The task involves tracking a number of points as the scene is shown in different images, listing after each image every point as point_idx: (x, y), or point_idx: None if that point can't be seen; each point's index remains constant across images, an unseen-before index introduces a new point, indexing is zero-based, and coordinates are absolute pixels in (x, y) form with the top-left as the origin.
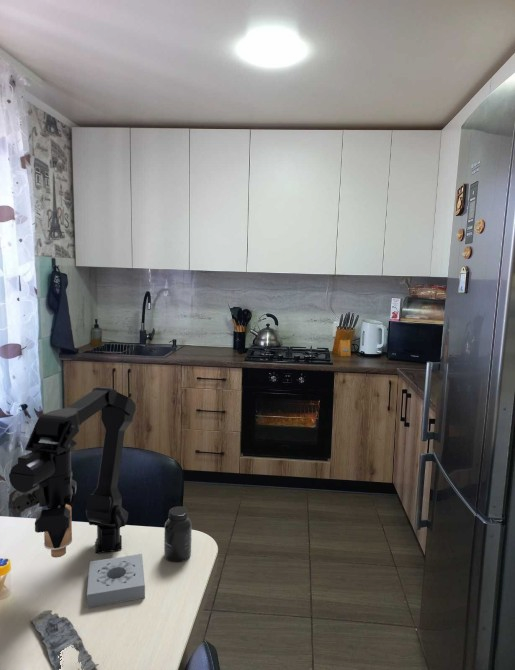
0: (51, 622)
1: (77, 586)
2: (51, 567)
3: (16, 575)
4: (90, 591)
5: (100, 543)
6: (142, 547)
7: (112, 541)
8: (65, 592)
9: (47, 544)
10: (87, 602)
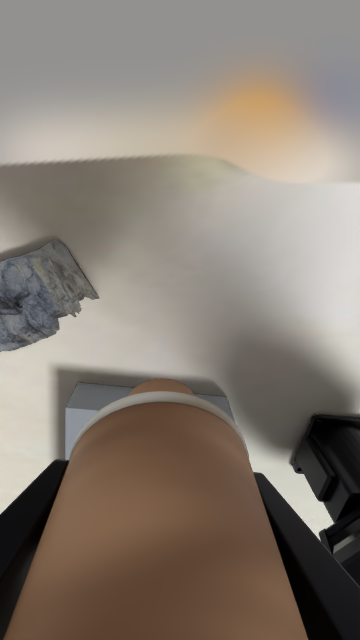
0: (29, 300)
1: (182, 364)
2: (317, 299)
3: (338, 185)
4: (79, 416)
5: (333, 442)
6: None
7: (307, 479)
8: (167, 335)
9: (95, 434)
10: (73, 393)
